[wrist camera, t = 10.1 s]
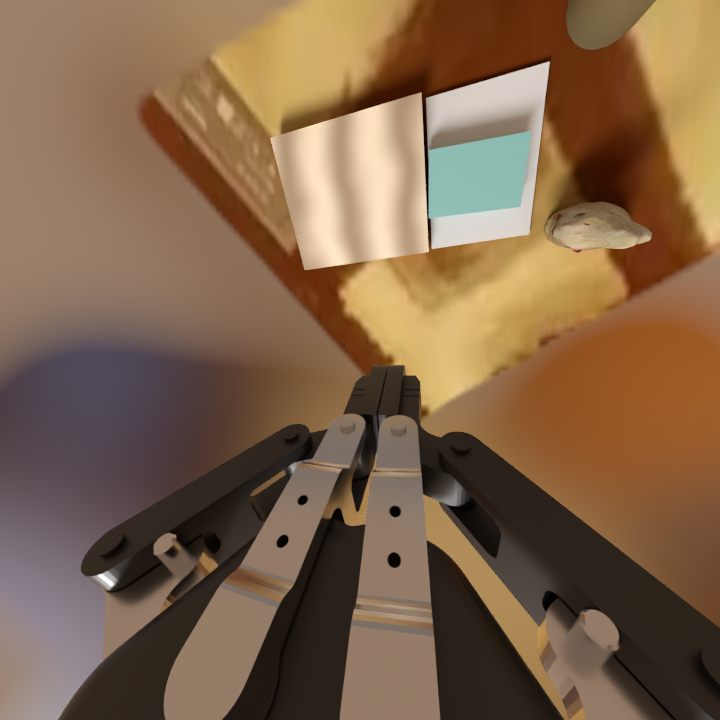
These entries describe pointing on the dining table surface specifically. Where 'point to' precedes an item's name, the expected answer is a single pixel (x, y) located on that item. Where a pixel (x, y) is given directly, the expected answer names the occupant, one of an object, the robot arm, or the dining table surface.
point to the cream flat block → (357, 184)
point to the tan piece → (594, 227)
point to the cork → (602, 20)
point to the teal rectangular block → (478, 175)
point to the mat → (485, 121)
